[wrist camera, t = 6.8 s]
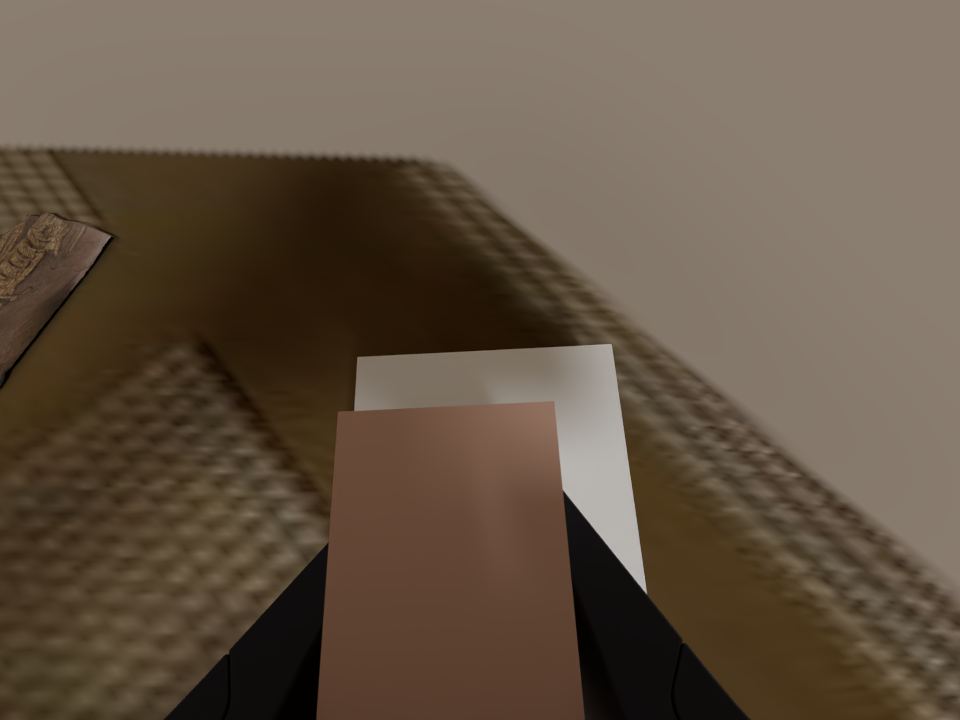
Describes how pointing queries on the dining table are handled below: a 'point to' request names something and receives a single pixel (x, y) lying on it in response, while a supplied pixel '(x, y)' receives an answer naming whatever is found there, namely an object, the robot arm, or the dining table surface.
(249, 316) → the dining table surface
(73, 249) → the wooden fragment
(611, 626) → the robot arm
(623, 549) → the white slotted block
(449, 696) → the pink rectangular block
